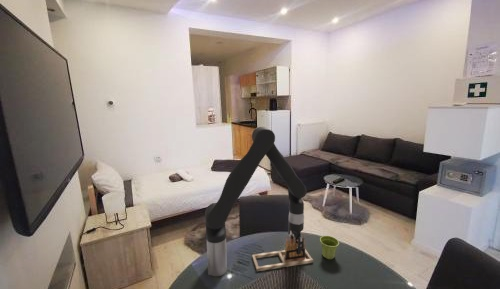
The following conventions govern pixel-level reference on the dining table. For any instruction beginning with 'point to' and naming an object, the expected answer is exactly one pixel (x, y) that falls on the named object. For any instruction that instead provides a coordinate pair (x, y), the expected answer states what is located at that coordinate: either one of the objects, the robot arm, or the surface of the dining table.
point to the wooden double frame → (284, 262)
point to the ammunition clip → (293, 250)
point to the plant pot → (329, 246)
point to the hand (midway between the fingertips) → (295, 248)
